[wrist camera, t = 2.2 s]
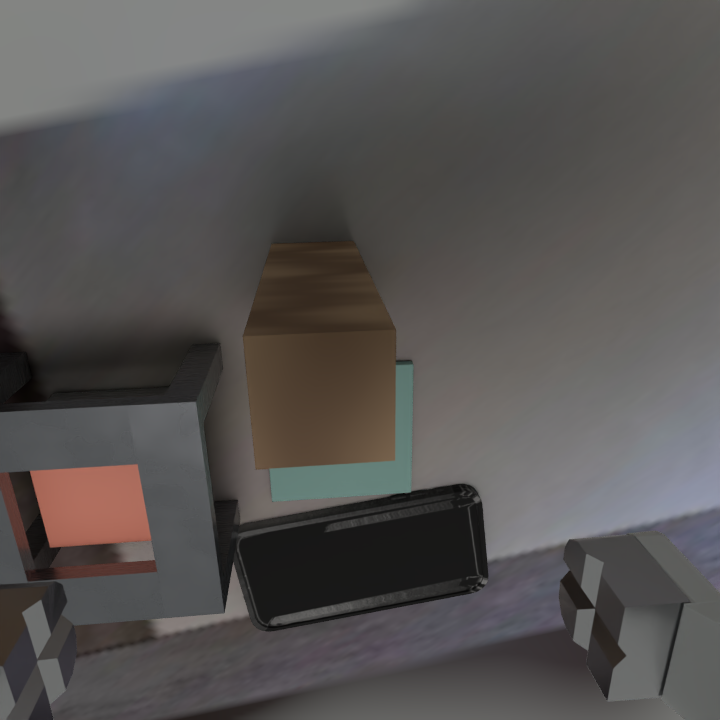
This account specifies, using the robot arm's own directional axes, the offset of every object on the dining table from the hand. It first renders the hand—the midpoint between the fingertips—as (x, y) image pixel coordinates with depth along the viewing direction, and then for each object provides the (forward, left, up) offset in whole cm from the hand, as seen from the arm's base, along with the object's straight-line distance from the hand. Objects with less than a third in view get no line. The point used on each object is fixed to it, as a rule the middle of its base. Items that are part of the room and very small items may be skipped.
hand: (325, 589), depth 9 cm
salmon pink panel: (+10, +8, -18) cm, 22 cm away
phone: (-2, +17, -21) cm, 27 cm away
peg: (0, 0, -21) cm, 21 cm away
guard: (+10, +8, -21) cm, 25 cm away
